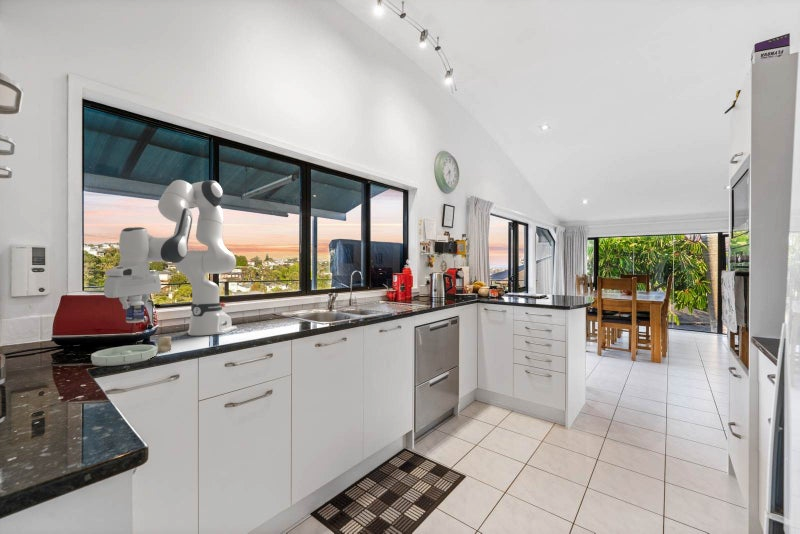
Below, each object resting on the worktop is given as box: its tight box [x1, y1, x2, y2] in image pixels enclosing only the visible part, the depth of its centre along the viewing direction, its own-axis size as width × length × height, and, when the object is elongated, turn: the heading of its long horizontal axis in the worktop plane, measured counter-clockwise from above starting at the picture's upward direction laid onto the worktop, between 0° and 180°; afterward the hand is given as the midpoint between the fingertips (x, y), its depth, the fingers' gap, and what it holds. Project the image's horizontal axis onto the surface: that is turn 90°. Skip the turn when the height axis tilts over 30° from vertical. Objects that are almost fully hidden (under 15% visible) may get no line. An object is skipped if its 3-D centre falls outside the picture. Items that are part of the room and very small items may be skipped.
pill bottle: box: [125, 295, 145, 324], centre depth 129 cm, size 5×5×10 cm
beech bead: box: [157, 336, 172, 353], centre depth 127 cm, size 4×4×5 cm
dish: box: [90, 344, 158, 367], centre depth 117 cm, size 17×17×3 cm
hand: (135, 307), depth 129 cm, fingers closed on pill bottle, 5 cm apart
